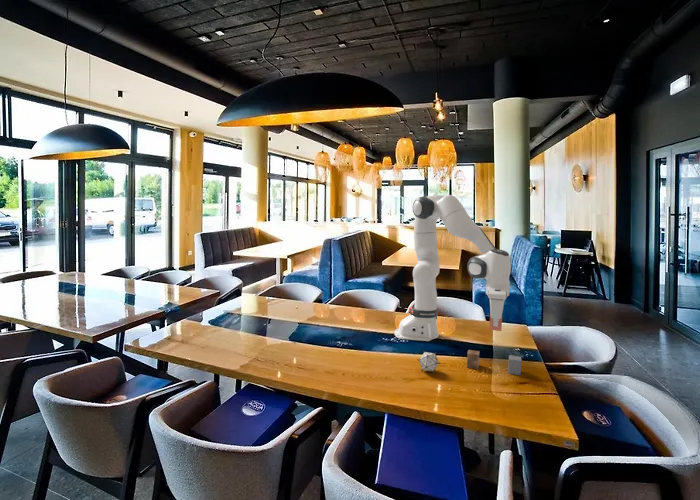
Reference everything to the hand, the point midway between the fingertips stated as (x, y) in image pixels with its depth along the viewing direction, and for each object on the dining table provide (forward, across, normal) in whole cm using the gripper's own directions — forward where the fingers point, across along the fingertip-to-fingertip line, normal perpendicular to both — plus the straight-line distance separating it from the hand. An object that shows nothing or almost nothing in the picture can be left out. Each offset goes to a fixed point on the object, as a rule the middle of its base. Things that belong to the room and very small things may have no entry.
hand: (495, 323), depth 159 cm
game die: (+19, +12, -24) cm, 33 cm away
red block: (+2, 0, 0) cm, 2 cm away
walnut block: (+19, 0, -8) cm, 21 cm away
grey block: (+19, 0, +8) cm, 21 cm away
